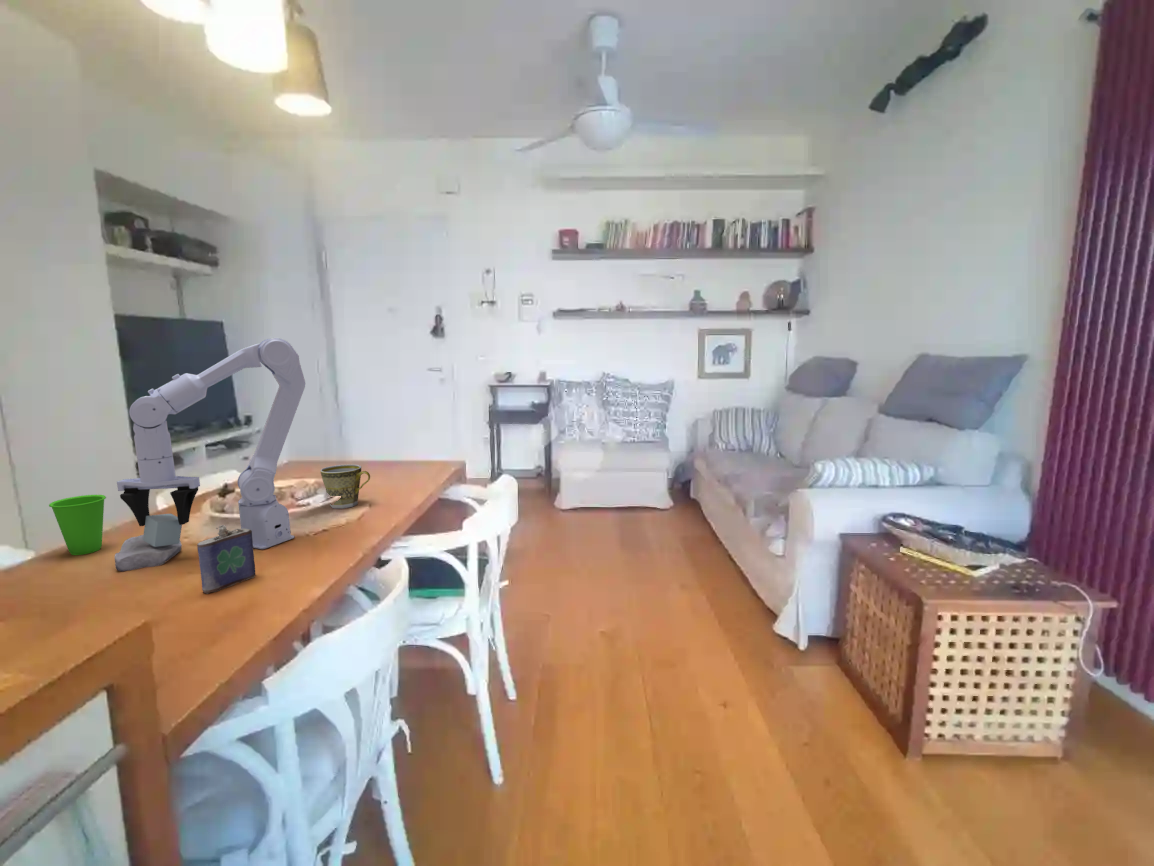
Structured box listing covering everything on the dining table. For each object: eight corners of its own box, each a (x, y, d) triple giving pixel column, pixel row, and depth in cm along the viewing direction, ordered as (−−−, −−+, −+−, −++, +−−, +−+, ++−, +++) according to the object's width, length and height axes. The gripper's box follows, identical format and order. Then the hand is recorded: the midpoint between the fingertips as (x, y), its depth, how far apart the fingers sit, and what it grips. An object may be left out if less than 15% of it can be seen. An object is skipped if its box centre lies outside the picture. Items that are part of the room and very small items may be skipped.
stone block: (182, 554, 124) (124, 554, 119) (185, 533, 124) (127, 531, 119) (174, 575, 114) (110, 576, 109) (177, 552, 113) (113, 551, 108)
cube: (179, 543, 117) (182, 519, 116) (154, 546, 113) (157, 522, 112) (167, 536, 119) (170, 513, 118) (142, 540, 115) (146, 515, 114)
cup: (110, 540, 128) (103, 492, 126) (115, 550, 121) (108, 499, 119) (56, 551, 121) (47, 500, 120) (58, 562, 115) (50, 509, 113)
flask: (207, 595, 99) (200, 534, 97) (198, 591, 100) (190, 532, 98) (259, 575, 107) (253, 519, 105) (249, 573, 108) (243, 517, 106)
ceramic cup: (315, 510, 149) (312, 472, 147) (337, 499, 158) (334, 464, 157) (362, 511, 146) (359, 473, 145) (381, 500, 156) (378, 464, 155)
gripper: (205, 452, 118) (213, 516, 120) (131, 454, 117) (140, 519, 119) (184, 459, 111) (192, 527, 113) (105, 461, 110) (115, 530, 112)
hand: (164, 523), depth 115 cm, fingers open, 7 cm apart
